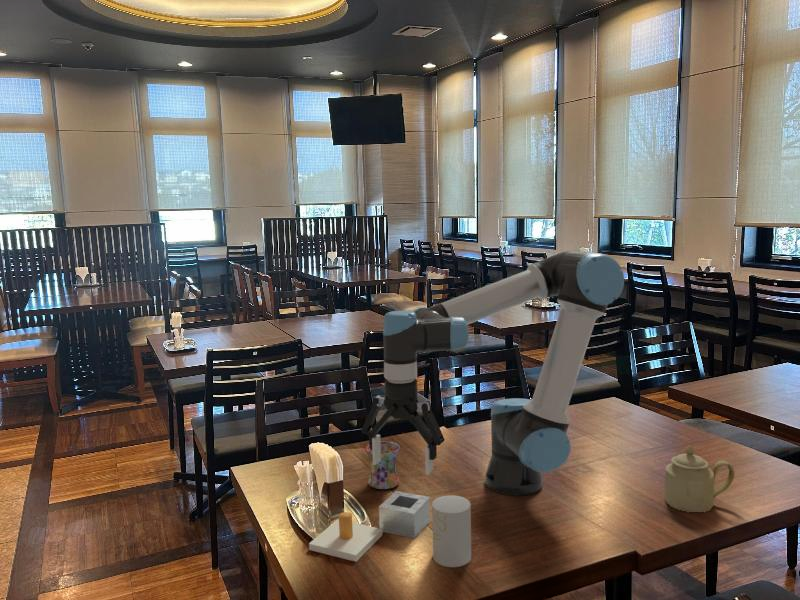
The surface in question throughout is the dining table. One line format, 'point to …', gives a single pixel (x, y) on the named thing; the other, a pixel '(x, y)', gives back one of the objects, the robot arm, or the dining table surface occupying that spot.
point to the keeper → (346, 538)
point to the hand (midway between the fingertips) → (402, 467)
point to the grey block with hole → (404, 514)
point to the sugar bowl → (693, 482)
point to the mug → (384, 466)
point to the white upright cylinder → (451, 530)
